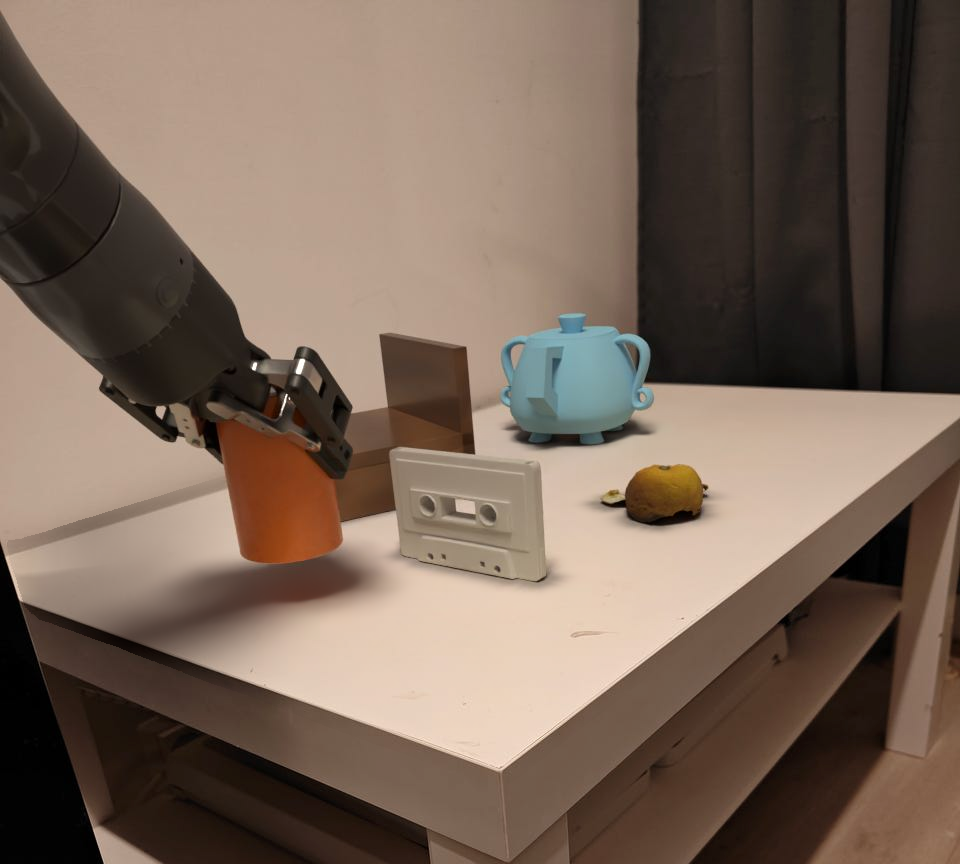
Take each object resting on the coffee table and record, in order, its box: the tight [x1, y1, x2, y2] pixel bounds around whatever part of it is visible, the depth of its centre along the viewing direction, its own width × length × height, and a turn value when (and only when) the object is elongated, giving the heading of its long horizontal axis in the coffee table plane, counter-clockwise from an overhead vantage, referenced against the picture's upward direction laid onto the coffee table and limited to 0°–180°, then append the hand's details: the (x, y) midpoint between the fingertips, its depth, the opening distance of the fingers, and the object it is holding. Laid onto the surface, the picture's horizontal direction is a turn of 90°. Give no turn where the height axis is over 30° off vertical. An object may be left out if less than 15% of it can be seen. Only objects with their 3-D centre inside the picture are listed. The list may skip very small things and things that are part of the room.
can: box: [215, 387, 344, 564], centre depth 58 cm, size 7×7×10 cm
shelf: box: [335, 332, 476, 522], centre depth 81 cm, size 14×16×12 cm
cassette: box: [389, 447, 547, 582], centre depth 62 cm, size 12×2×8 cm, turn 53°
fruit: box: [600, 463, 709, 523], centre depth 71 cm, size 8×8×4 cm
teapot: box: [499, 312, 655, 445], centre depth 95 cm, size 20×17×12 cm
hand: (293, 464), depth 60 cm, fingers closed on can, 6 cm apart
